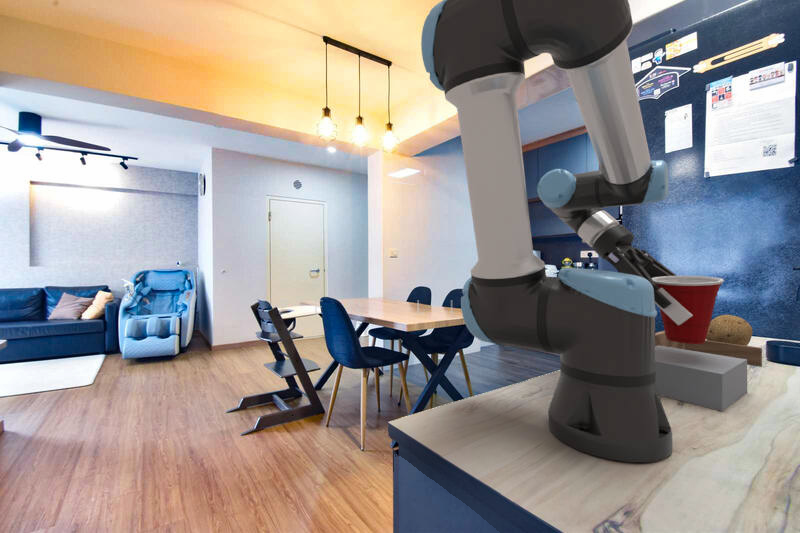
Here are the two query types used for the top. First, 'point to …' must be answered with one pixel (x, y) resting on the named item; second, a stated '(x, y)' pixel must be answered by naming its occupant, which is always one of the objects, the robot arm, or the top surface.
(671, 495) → the top surface
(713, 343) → the brown wooden frame
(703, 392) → the grey square block
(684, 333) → the plastic cup
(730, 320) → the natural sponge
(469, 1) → the robot arm
